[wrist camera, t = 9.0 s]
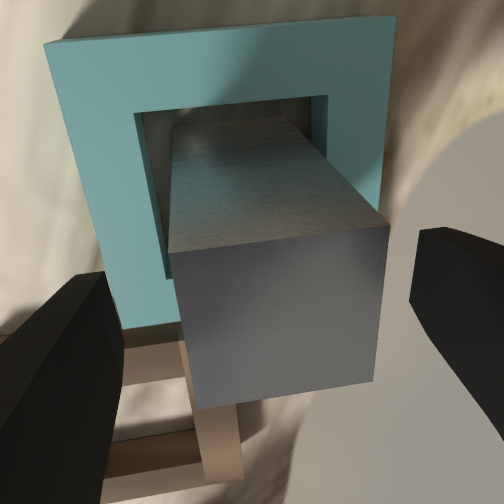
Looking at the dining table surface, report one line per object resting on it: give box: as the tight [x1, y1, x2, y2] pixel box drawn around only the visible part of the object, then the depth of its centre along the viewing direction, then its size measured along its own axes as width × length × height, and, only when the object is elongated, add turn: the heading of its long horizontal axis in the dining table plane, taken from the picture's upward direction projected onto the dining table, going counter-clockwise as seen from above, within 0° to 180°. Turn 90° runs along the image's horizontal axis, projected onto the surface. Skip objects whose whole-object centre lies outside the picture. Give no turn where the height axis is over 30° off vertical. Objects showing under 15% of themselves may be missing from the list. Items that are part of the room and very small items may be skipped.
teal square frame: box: [43, 15, 397, 329], centre depth 15 cm, size 10×10×2 cm
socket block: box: [0, 319, 245, 504], centre depth 20 cm, size 10×10×2 cm
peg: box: [168, 116, 390, 410], centre depth 12 cm, size 4×4×9 cm
